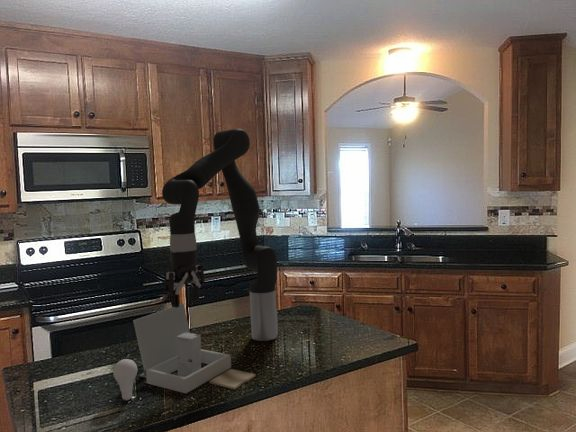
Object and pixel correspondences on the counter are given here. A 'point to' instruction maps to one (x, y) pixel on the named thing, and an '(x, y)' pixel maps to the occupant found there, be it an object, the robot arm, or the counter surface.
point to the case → (163, 378)
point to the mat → (232, 378)
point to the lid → (160, 334)
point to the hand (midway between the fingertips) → (186, 303)
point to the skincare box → (188, 353)
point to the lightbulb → (125, 376)
